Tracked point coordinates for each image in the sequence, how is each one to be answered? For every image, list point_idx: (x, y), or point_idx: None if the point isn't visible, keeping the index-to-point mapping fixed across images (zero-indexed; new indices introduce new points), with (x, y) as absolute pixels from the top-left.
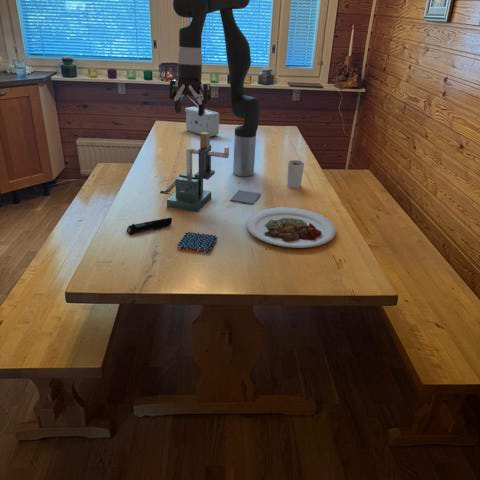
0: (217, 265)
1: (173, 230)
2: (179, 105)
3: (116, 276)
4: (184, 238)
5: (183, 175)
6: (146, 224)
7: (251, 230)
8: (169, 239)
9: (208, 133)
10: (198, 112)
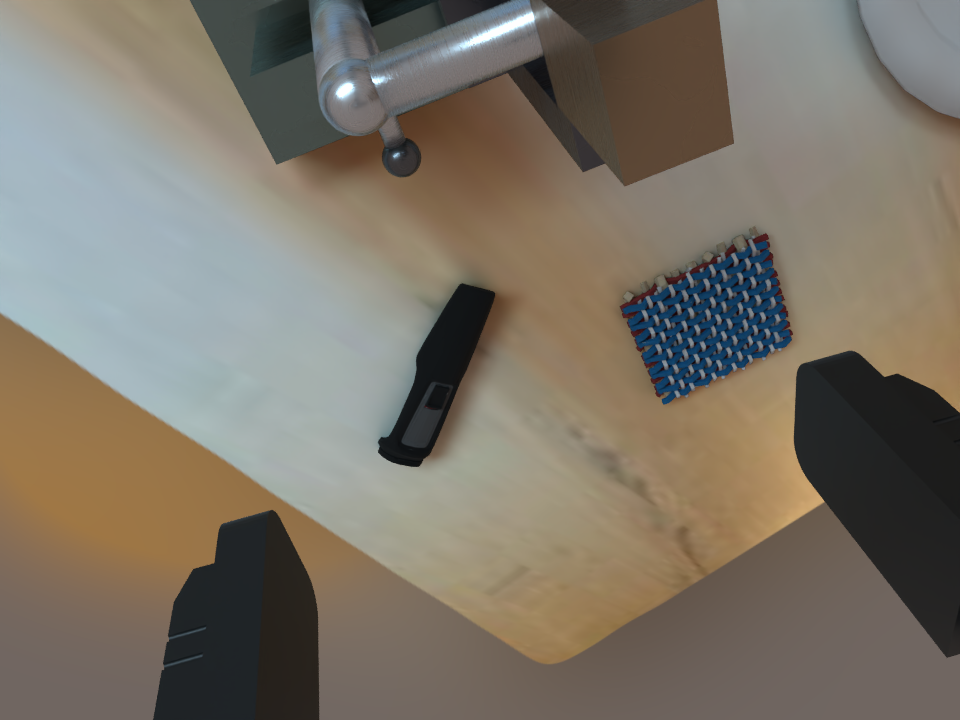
0: None
1: (535, 309)
2: (288, 692)
3: (599, 587)
4: (653, 352)
5: (251, 8)
6: (441, 407)
7: (912, 69)
8: (579, 370)
9: (724, 69)
10: (837, 510)
